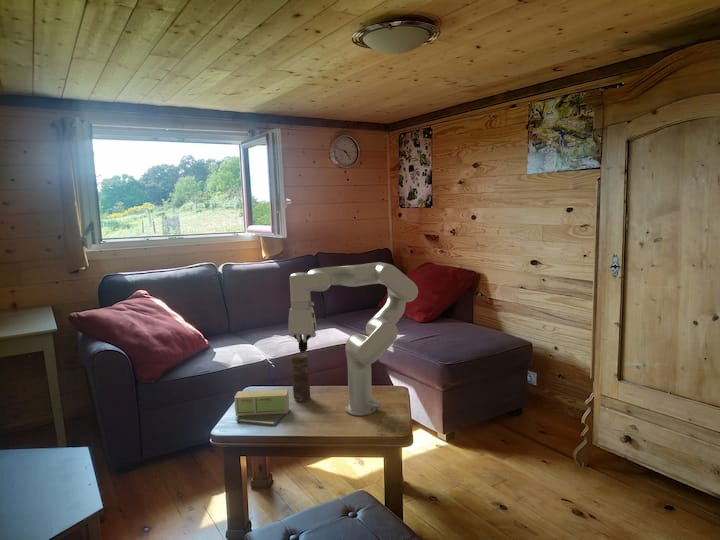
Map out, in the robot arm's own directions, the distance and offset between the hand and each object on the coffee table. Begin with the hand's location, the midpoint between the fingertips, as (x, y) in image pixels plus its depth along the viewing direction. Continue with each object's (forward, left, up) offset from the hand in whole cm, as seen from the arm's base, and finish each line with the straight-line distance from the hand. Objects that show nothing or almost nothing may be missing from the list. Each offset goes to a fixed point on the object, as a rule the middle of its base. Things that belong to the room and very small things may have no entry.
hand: (303, 351), depth 190 cm
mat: (+18, 0, -28) cm, 34 cm away
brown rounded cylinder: (+9, -20, -29) cm, 36 cm away
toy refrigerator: (+10, -6, -24) cm, 26 cm away
